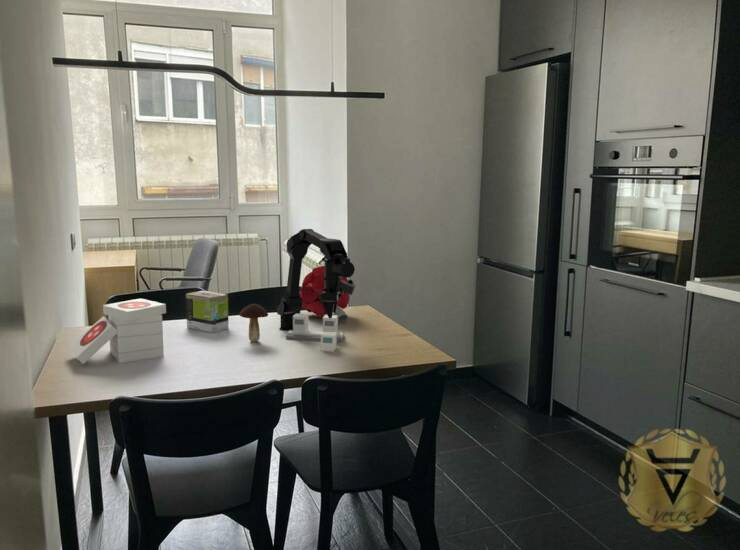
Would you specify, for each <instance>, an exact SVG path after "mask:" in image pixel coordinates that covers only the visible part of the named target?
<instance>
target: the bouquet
mask: <svg viewBox="0 0 740 550" xmlns="http://www.w3.org/2000/svg"><path fill="white" fill-rule="evenodd" d="M324 277H325V265H320V266H317V267H314V268H313V269H312V271H310V273H309V272H308V274H307V275H305V276H304V279H303V280H302V284H301V285H300V286H301V289H300V290H299V294H300V296H301V297H302V299H303V300H302V307H301V308H303V309H304V310H306V312H307V313H313V314H314V315H315V316H317V317H319V318H323V317H324V316H325V315H327V313H326V311H325V308H324V306H323V304H322V302H321V301H320V295H321V294H322V293H323V292H324V288H325V280H324ZM341 277H342V276H341ZM342 280H343V281H346V282H347V281H348V280H349V278H346V277H342ZM339 293H341V292H339ZM349 304H350V295H349V294H348V293H346V292H343V295H342V296H341V297H340V298H339V300H338V304H337V309H336V312H335V313H333V315H338V324H343V323H345V322H346V321H348V315H347V314H346V311H344V309H346V308H348V306H349Z"/></svg>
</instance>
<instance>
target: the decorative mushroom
mask: <svg viewBox="0 0 740 550" xmlns="http://www.w3.org/2000/svg"><path fill="white" fill-rule="evenodd" d="M238 316H240V317H242V318H245V319H249V324H248V339H249V341H250V342H253V343H256V342H258V341H259V340H260V337H261V336H260V324H259V323H260V322H259V318H267V317H268V316H269V314H268V311H267V310H266V309H265V308H264V307H263V306H261V305H260V304H258V303H251V304H248V305H247V306H245V307H243V308H242V309H241V310H240V312H239V314H238Z"/></svg>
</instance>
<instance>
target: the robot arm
mask: <svg viewBox="0 0 740 550" xmlns="http://www.w3.org/2000/svg"><path fill="white" fill-rule="evenodd" d="M311 245H313V246H315V247H317V248H319V251H320V253H321V254H322V255H323V257H322V258H321V261H322V262H323V261H324V266H325V277H324V280H325V288H324V292H323V293H322V294H321V295H320V301H321V302H322V304H323V306H324V308H325V311H326V313H327V314H326V315H328V317H329V318H332V315H334V313H335V312H336V309H337V304H338V300H339V298H340V297H341V296H342V295H343V292H346V293H348V294H349V296H352V295H353V294H354V291H355V289H356V286H357V285H356V284H354V280H353V279H349V278H352V276H353V275H354V273H355V265H354V264H353V263H352V262H351V258H349V256H348V253H347V251H346V249H345V246H344V244H343V242H342V240H341V239H338V238H329V237H326V236H324V235H322V234H321V233H318V232H316V231H315V230H314V229H312V228H302V229H301V230H299V231H298V232H296V233H295V234H294V235H291V236H290V237H289V238H288V239H287V242H286V252H287V254H288V256H289V265H288V275H287V284H286V289H285V292H284V293H283V294H282V296H281V300H280V303H279V304H278V306H277V308H276V314H277V315H278V316H280V326H279V328H278V329H279V330H281V331H282V330H283V331H284V330H286V331H289V330H292V331H293V316H294V315H295V314H296V313H300V314H301V311H302V308H303V307H302V300H303V299H302V297H301V296H300V294H299V293H300V284H301V283H300V282H301V273H302V266H303V264H302V263H303V259H304V258H305V257H306V255H307V254H308V250H309V248H310V246H311ZM341 276H342V277H346V278H347V279H348V281H347V282H346V281H343V280H342V277H341ZM339 292H341V293H339Z"/></svg>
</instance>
